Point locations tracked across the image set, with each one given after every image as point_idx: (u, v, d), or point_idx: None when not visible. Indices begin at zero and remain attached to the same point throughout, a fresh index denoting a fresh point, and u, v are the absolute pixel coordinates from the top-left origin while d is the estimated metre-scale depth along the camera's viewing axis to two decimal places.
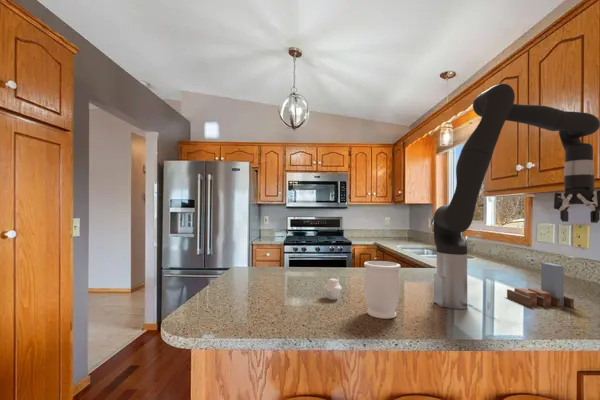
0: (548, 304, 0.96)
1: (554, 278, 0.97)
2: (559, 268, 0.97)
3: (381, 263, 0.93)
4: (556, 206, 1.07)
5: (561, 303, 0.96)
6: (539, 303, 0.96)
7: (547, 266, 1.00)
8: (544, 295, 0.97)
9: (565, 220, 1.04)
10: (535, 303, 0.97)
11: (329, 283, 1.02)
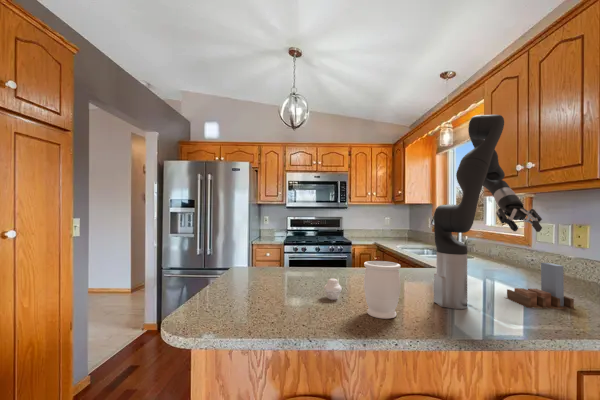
0: (548, 304, 0.96)
1: (554, 278, 0.97)
2: (559, 268, 0.97)
3: (381, 263, 0.93)
4: (505, 217, 1.15)
5: (561, 303, 0.96)
6: (539, 303, 0.96)
7: (547, 266, 1.00)
8: (544, 295, 0.97)
9: None
10: (535, 303, 0.97)
11: (329, 283, 1.02)
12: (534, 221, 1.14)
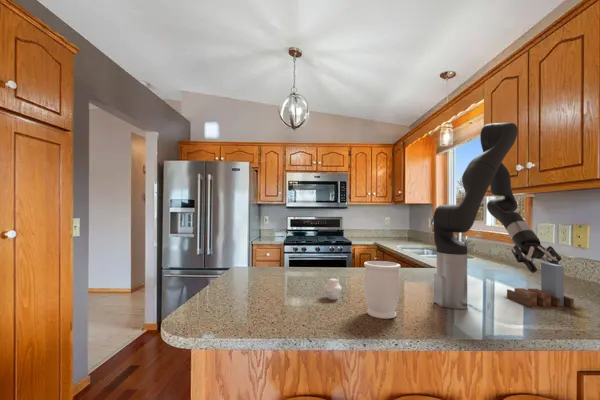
0: (548, 304, 0.96)
1: (554, 278, 0.97)
2: (559, 268, 0.97)
3: (381, 263, 0.93)
4: (522, 256, 1.05)
5: (561, 303, 0.96)
6: (539, 303, 0.96)
7: (547, 266, 1.00)
8: (544, 295, 0.97)
9: None
10: (535, 303, 0.97)
11: (329, 283, 1.02)
12: (553, 261, 1.04)
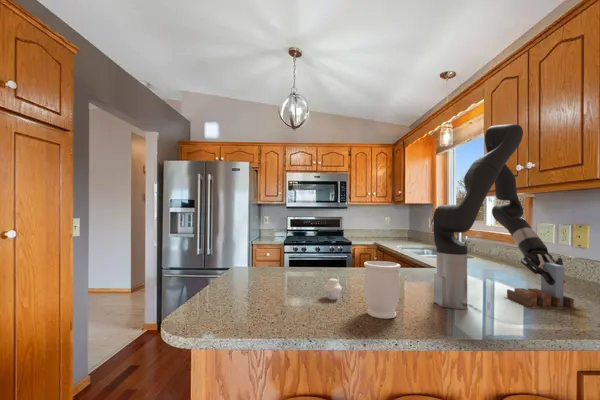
0: (548, 304, 0.96)
1: (554, 278, 0.97)
2: (559, 269, 0.97)
3: (381, 263, 0.93)
4: (539, 267, 1.01)
5: (560, 303, 0.97)
6: (539, 303, 0.96)
7: (548, 266, 1.00)
8: (544, 295, 0.97)
9: None
10: (535, 303, 0.97)
11: (329, 283, 1.02)
12: None
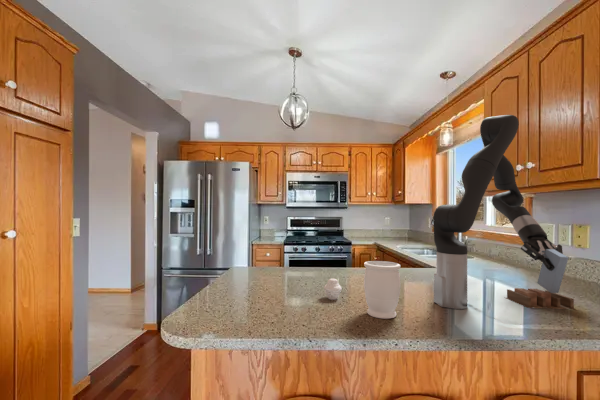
0: (548, 304, 0.96)
1: (556, 267, 0.97)
2: (563, 259, 0.95)
3: (381, 263, 0.93)
4: (539, 253, 1.01)
5: (556, 290, 0.98)
6: (539, 303, 0.96)
7: (552, 255, 0.98)
8: (544, 295, 0.97)
9: None
10: (535, 303, 0.97)
11: (329, 283, 1.02)
12: None
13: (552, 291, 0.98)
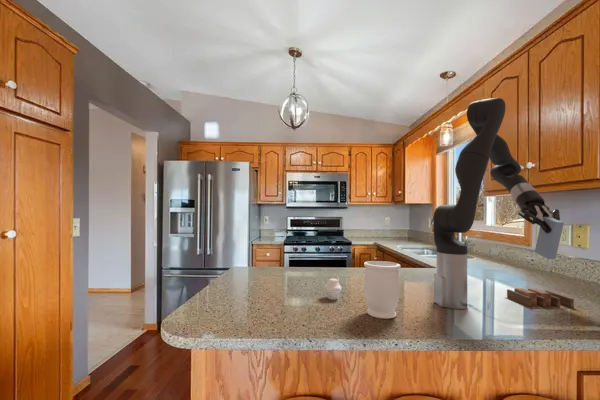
0: (548, 304, 0.96)
1: (552, 233, 0.98)
2: (559, 224, 0.97)
3: (381, 263, 0.93)
4: (536, 217, 1.02)
5: (553, 256, 1.00)
6: (539, 303, 0.96)
7: (548, 221, 1.00)
8: (544, 295, 0.97)
9: None
10: (535, 303, 0.97)
11: (329, 283, 1.02)
12: None
13: (549, 257, 1.00)
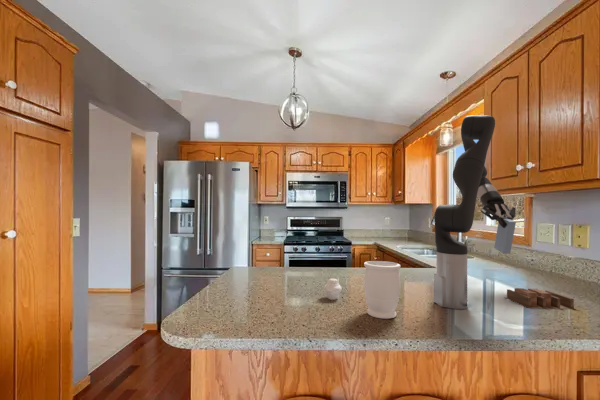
0: (548, 304, 0.96)
1: (506, 231, 1.14)
2: (511, 224, 1.13)
3: (381, 263, 0.93)
4: (495, 214, 1.18)
5: (508, 251, 1.16)
6: (539, 303, 0.96)
7: None
8: (544, 295, 0.97)
9: None
10: (535, 303, 0.97)
11: (329, 283, 1.02)
12: (508, 218, 1.17)
13: (504, 252, 1.16)
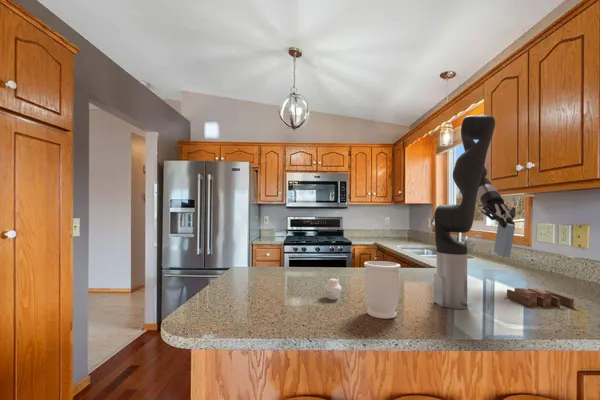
0: (548, 304, 0.96)
1: (505, 235, 1.15)
2: (511, 227, 1.13)
3: (381, 263, 0.93)
4: (495, 214, 1.18)
5: (507, 255, 1.16)
6: (539, 303, 0.96)
7: None
8: (544, 295, 0.97)
9: None
10: (535, 303, 0.97)
11: (329, 283, 1.02)
12: (508, 218, 1.17)
13: (504, 256, 1.16)
